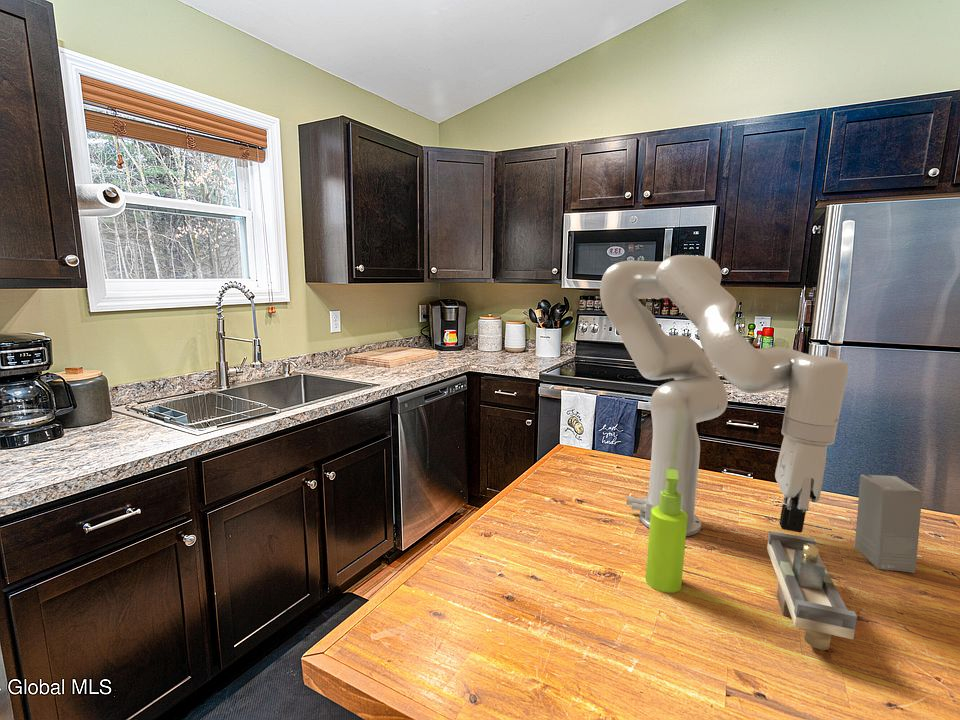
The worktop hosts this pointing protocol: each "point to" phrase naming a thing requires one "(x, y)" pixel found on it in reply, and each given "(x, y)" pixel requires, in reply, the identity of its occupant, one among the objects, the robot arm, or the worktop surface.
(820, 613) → the stand
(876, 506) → the skincare box
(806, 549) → the rider
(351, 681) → the worktop surface
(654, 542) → the soap dispenser
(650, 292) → the robot arm
